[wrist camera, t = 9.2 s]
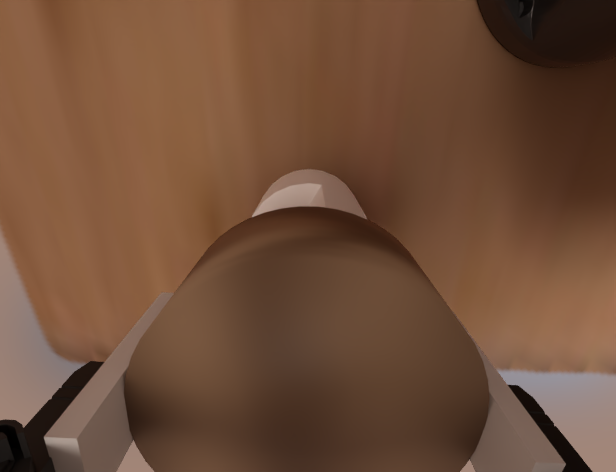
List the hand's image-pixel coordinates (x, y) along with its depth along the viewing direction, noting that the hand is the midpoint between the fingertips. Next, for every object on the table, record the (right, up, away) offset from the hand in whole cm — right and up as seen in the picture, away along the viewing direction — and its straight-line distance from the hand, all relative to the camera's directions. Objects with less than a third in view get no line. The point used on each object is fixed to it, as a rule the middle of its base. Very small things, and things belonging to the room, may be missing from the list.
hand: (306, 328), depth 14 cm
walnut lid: (0, 0, 0) cm, 0 cm away
